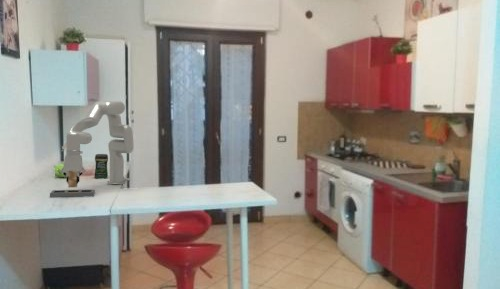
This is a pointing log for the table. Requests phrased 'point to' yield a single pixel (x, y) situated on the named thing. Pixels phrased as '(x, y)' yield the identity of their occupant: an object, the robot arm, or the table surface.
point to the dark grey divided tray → (72, 193)
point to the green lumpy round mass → (58, 169)
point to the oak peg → (72, 179)
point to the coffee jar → (101, 166)
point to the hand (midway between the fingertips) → (72, 182)
